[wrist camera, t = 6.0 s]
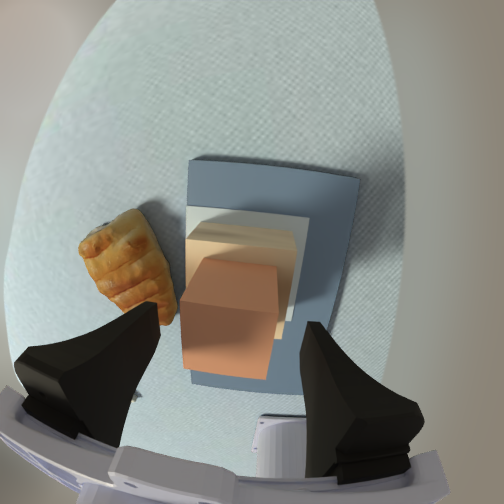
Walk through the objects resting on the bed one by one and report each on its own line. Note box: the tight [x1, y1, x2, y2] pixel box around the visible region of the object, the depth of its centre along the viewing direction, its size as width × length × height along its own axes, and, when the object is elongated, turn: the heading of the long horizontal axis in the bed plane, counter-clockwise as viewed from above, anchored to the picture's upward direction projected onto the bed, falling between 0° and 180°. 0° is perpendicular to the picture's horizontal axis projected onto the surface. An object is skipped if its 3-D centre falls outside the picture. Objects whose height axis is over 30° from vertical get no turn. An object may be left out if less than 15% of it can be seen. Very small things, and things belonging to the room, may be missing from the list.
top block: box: [180, 258, 279, 380], centre depth 14 cm, size 4×4×4 cm
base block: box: [186, 222, 297, 339], centre depth 17 cm, size 6×6×4 cm
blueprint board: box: [186, 160, 360, 395], centre depth 20 cm, size 20×11×1 cm, turn 175°
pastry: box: [78, 209, 178, 326], centre depth 19 cm, size 9×7×4 cm
